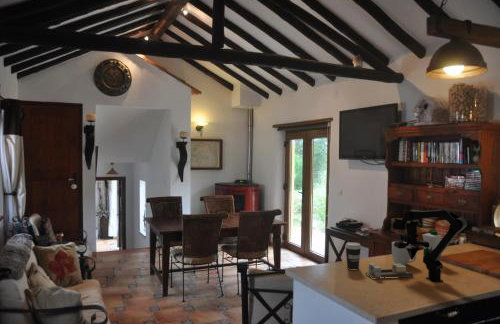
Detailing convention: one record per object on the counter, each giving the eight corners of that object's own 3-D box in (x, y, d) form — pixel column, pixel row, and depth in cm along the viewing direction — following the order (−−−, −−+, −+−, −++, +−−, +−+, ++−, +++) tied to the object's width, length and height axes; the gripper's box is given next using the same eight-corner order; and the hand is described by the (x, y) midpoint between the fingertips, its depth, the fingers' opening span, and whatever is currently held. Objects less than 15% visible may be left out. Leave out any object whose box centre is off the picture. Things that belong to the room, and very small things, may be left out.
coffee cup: (343, 269, 235) (343, 244, 235) (347, 265, 244) (347, 241, 243) (359, 272, 231) (359, 246, 230) (362, 267, 239) (362, 243, 239)
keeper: (405, 274, 222) (406, 266, 222) (397, 274, 221) (397, 266, 221) (400, 271, 228) (400, 263, 228) (392, 271, 227) (392, 263, 227)
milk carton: (442, 264, 246) (442, 232, 245) (431, 265, 242) (432, 233, 242) (430, 260, 254) (430, 229, 253) (420, 262, 250) (420, 230, 250)
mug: (419, 265, 243) (420, 244, 243) (411, 269, 236) (412, 247, 235) (396, 260, 254) (396, 240, 254) (388, 263, 247) (388, 243, 246)
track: (413, 277, 221) (413, 266, 221) (372, 279, 218) (372, 268, 217) (404, 272, 230) (404, 261, 230) (365, 274, 227) (365, 263, 226)
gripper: (419, 228, 234) (419, 254, 234) (389, 229, 231) (389, 256, 232) (430, 232, 223) (430, 260, 223) (399, 233, 220) (399, 261, 221)
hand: (411, 259), depth 225 cm, fingers closed
